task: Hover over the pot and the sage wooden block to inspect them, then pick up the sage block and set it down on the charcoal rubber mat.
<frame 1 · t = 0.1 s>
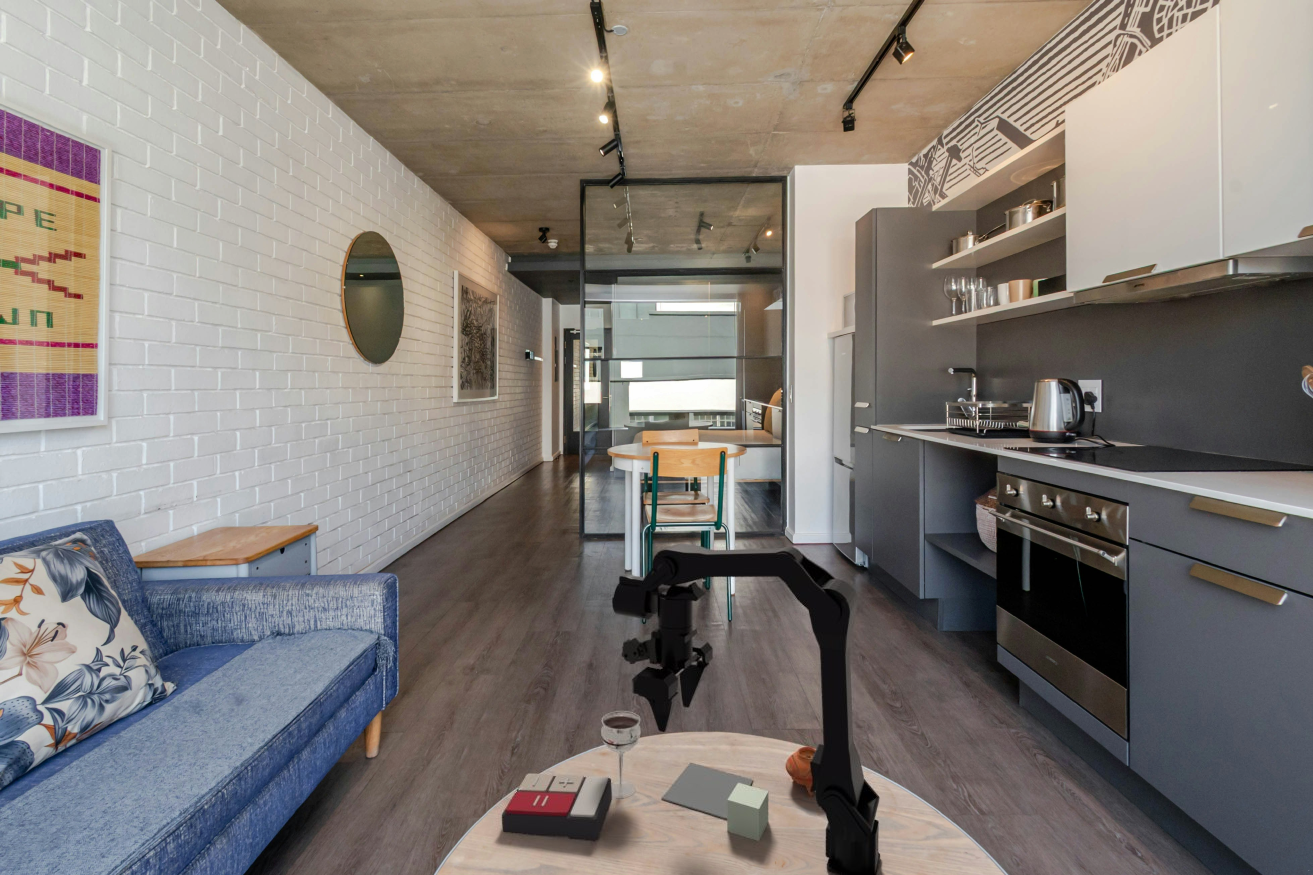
hand: (674, 718, 99), 15 cm above the table, tool pointing down, fingers open, 9 cm apart
sage block: (748, 826, 95), on the table
calculator: (559, 817, 98), on the table
charcoal mat: (708, 789, 105), on the table
pot: (808, 787, 106), on the table
wineglass: (620, 790, 105), on the table
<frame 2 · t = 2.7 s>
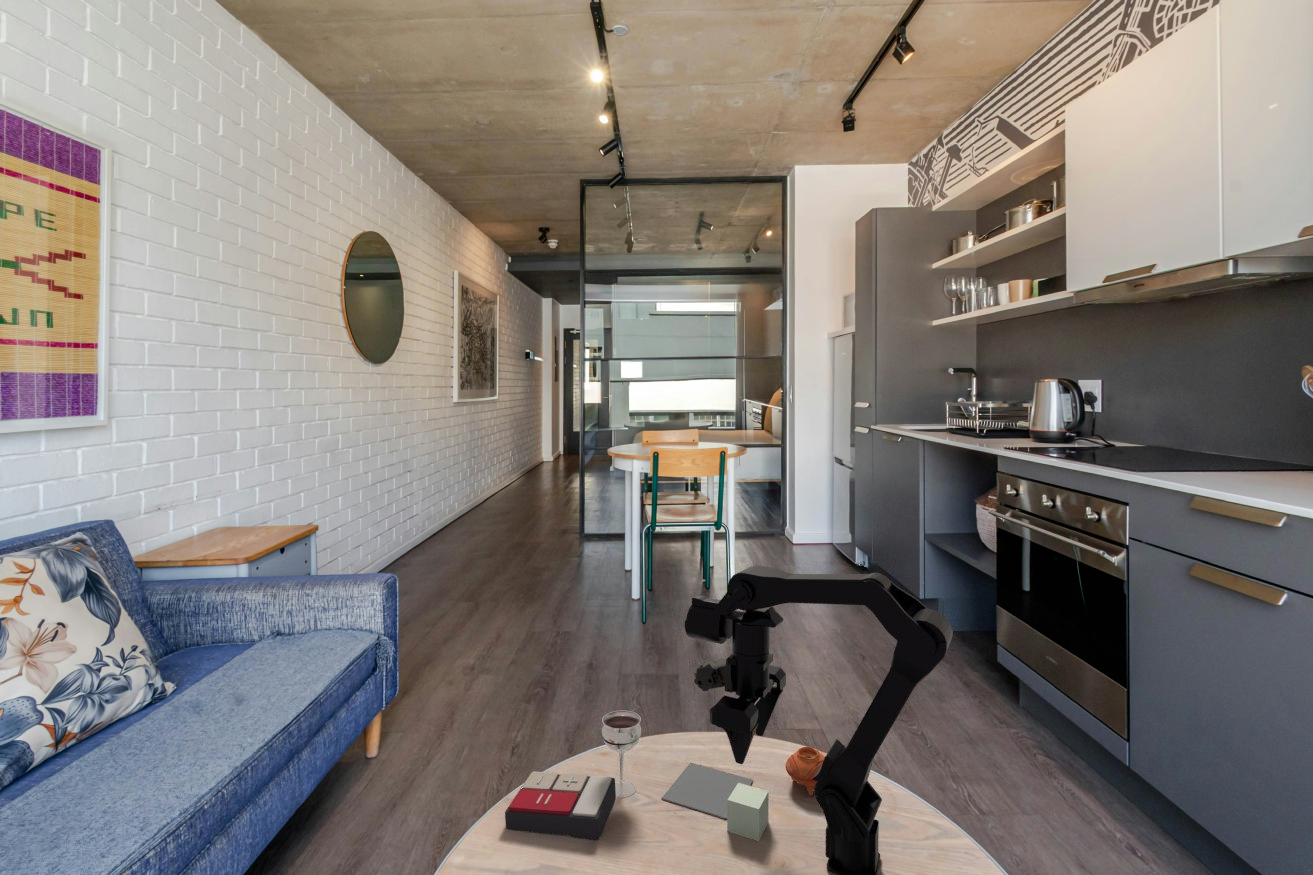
hand: (749, 748, 95), 12 cm above the table, tool pointing down, fingers open, 9 cm apart
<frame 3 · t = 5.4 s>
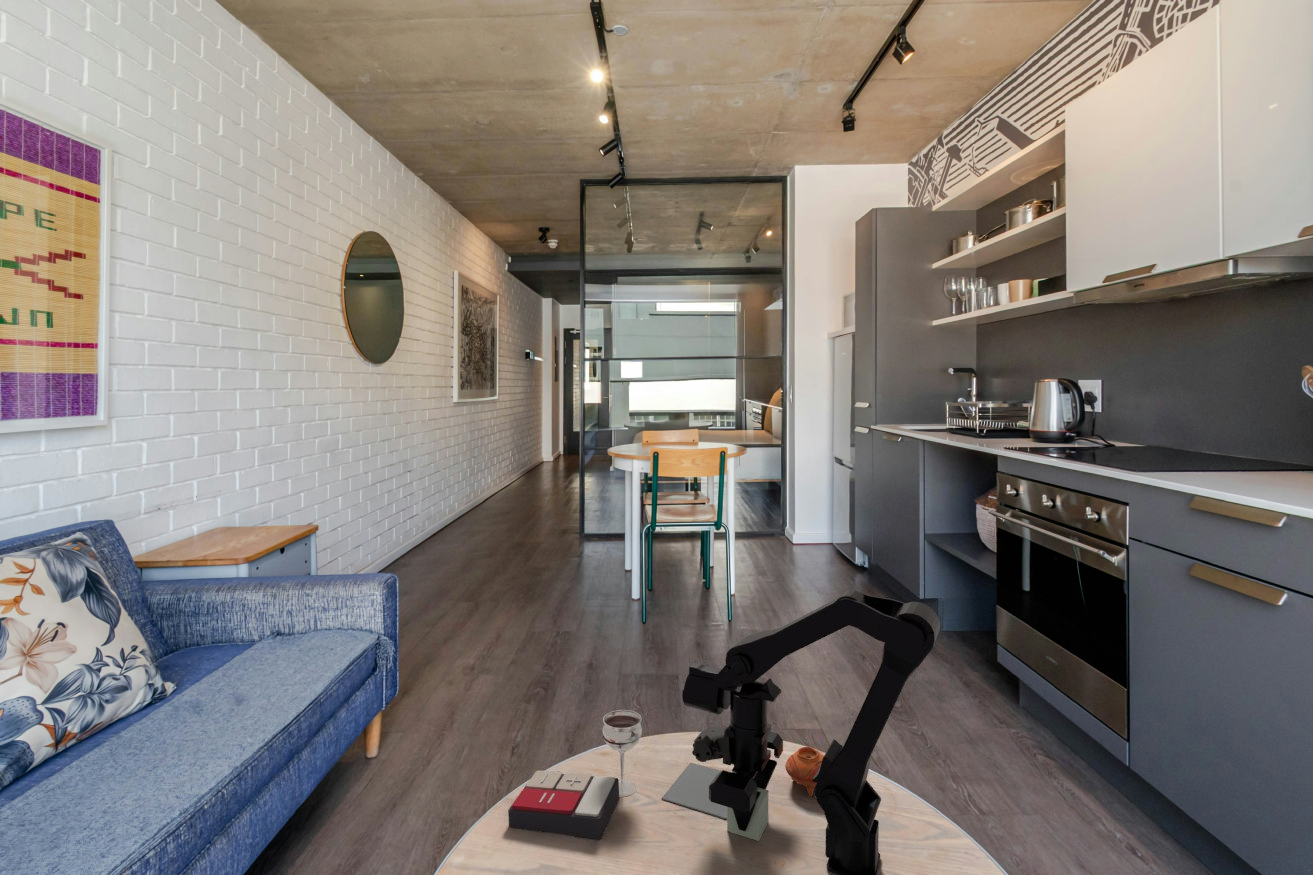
hand: (748, 819, 95), 1 cm above the table, tool pointing down, fingers closed on sage block, 5 cm apart
sage block: (748, 826, 95), on the table, touching gripper
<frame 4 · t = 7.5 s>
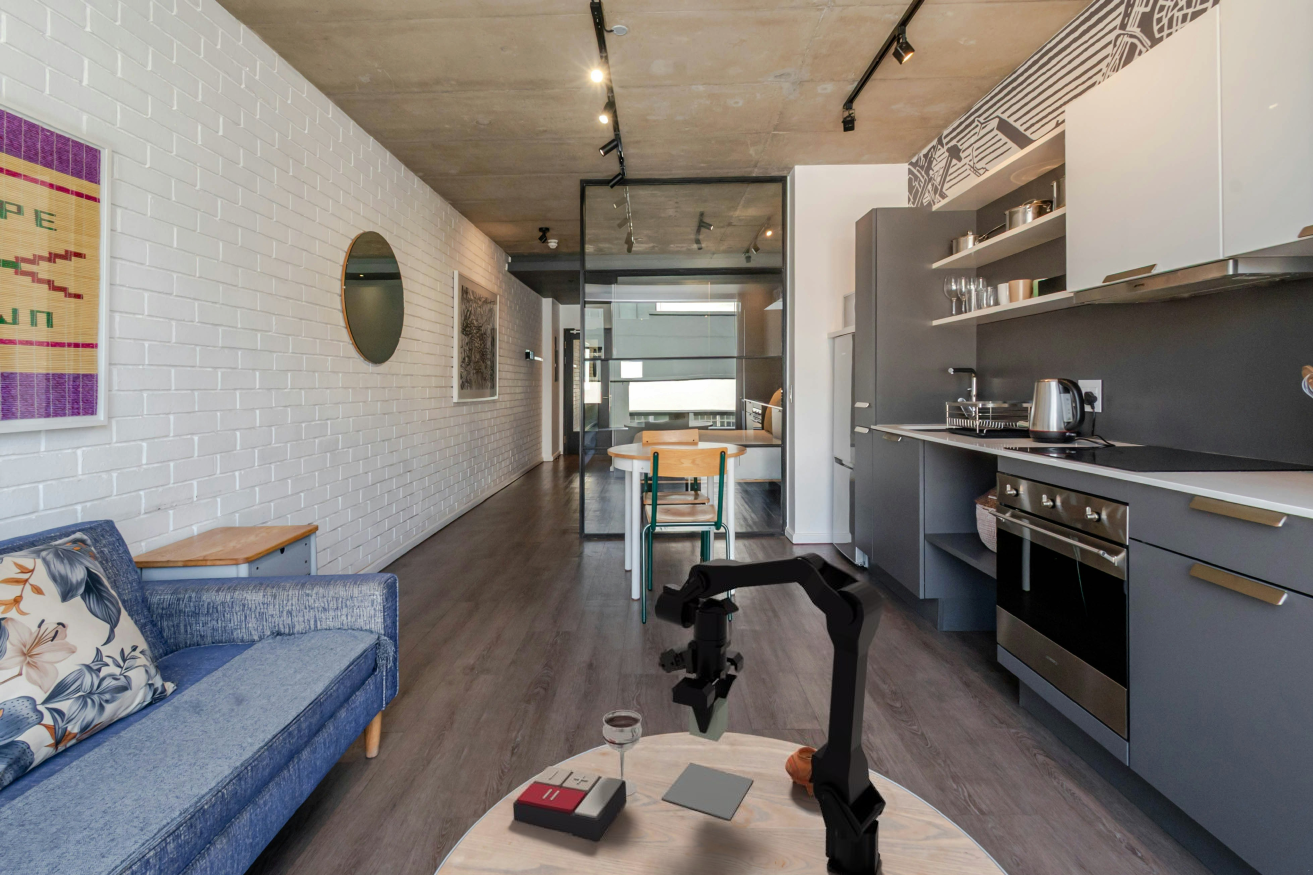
hand: (708, 725, 104), 11 cm above the table, tool pointing down, fingers closed on sage block, 5 cm apart
sage block: (708, 731, 104), point 10 cm above the table, touching gripper
when the fingers open (2 cm above the table, at t = 9.9 s): sage block drops 1 cm, resting on charcoal mat.
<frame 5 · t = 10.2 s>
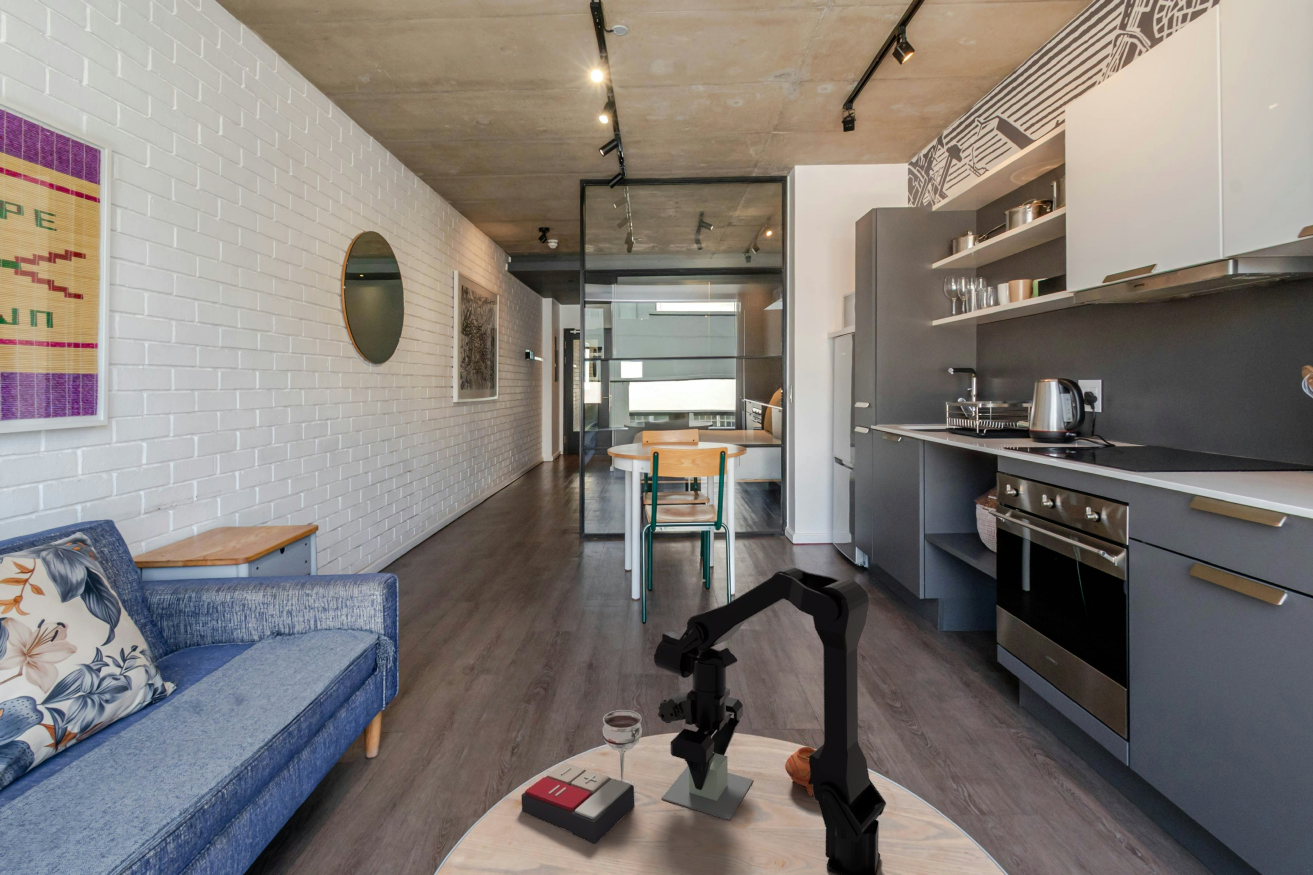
hand: (708, 775, 104), 2 cm above the table, tool pointing down, fingers open, 8 cm apart
sage block: (708, 788, 105), resting on charcoal mat
calculator: (578, 811, 100), on the table
everything else where it was.
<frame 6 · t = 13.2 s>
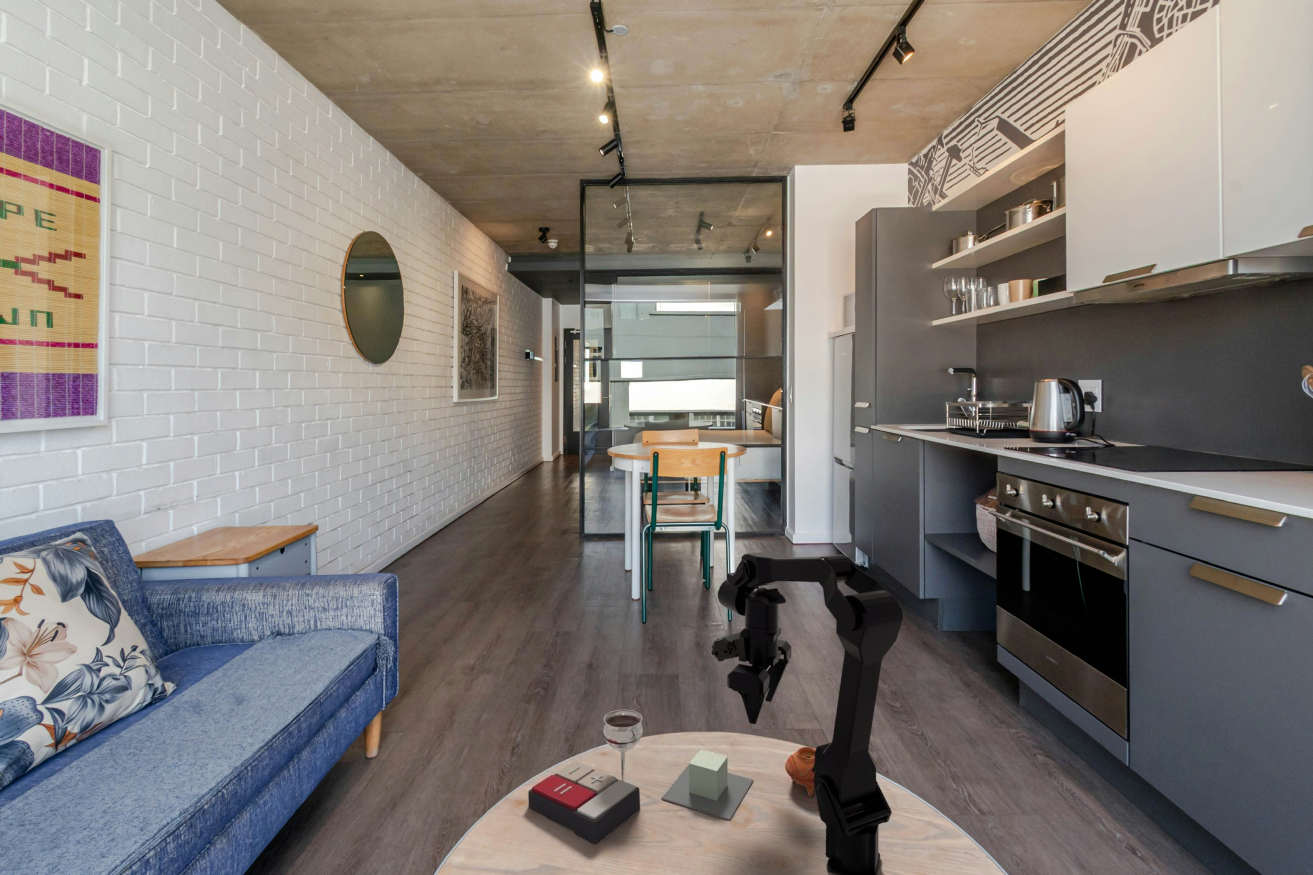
hand: (760, 711, 107), 12 cm above the table, tool pointing down, fingers open, 9 cm apart
at the end: sage block inside the target area on the charcoal mat (0.0 cm from its centre), point 0.2 cm above the charcoal mat's base; sage block tilted 0°; the gripper is holding nothing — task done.
